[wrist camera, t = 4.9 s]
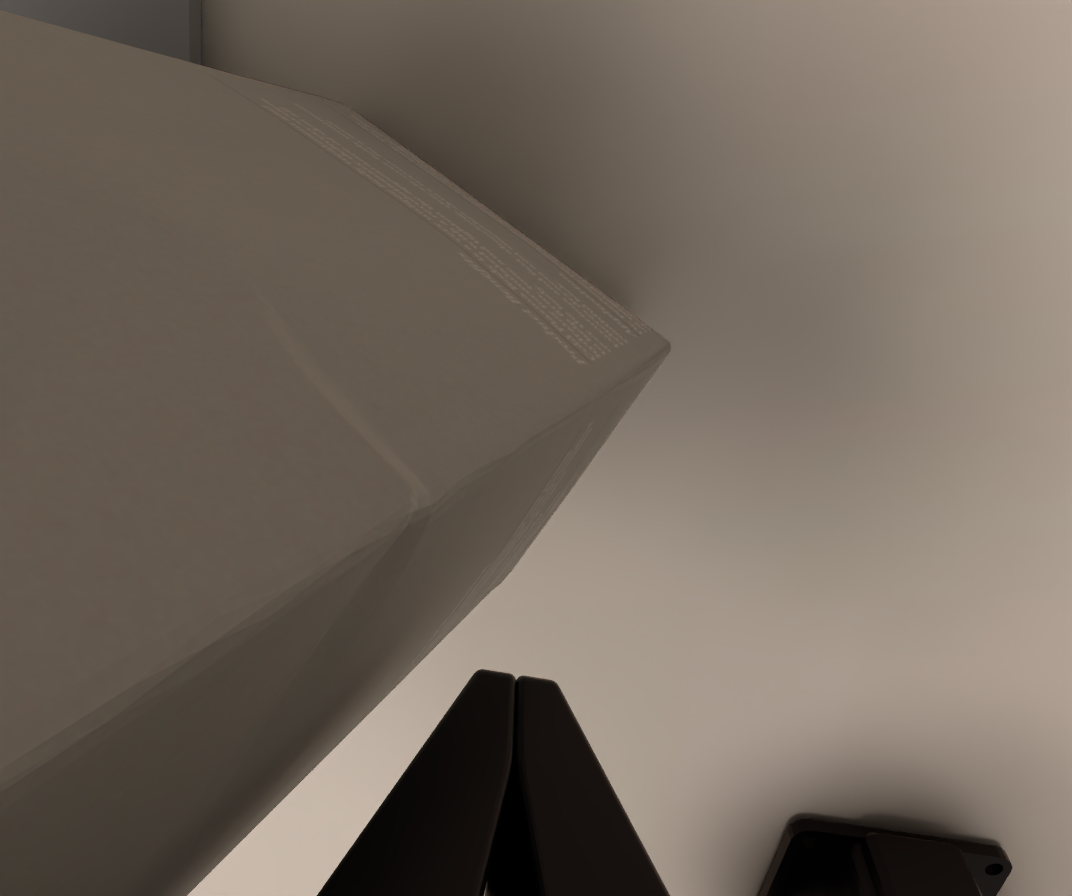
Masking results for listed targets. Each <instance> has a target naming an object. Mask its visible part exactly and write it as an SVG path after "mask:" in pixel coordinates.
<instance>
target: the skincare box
mask: <svg viewBox="0 0 1072 896" xmlns="http://www.w3.org/2000/svg"><path fill="white" fill-rule="evenodd" d="M670 350H671V345H670V343H669V342H668V341H667V340H666V339H664V338H663V337H662V336H661V335H659V334H658V333H657V332H655V331H654V330H653V329H651V328H650V327H649V326H647V325H646V324H645V323H643V322H642V321H641V320H639V319H638V318H637V317H635V316H634V315H633V314H631V313H630V312H628V311H627V310H626V309H624V308H623V307H622V306H620V305H619V304H618V303H616V302H615V301H614V300H612V299H611V298H610V297H608V296H607V295H606V294H604V293H603V292H602V291H600V290H599V289H598V288H596V287H595V286H593V285H592V284H591V283H589V282H588V281H587V280H585V279H584V278H582V277H581V276H580V275H578V274H577V273H576V272H574V271H573V270H572V269H570V268H569V267H567V266H566V265H565V264H563V263H562V262H561V261H559V260H558V259H556V258H555V257H554V256H552V255H551V254H550V253H548V252H547V251H546V250H544V249H543V248H541V247H540V246H539V245H537V244H536V243H535V242H533V241H532V240H530V239H529V238H528V237H526V236H525V235H524V234H522V233H521V232H520V231H518V230H517V229H516V228H514V227H513V226H511V225H510V224H509V223H507V222H506V221H505V220H503V219H502V218H501V217H499V216H498V215H497V214H495V213H494V212H492V211H491V210H490V209H488V208H487V207H486V206H484V205H483V204H482V203H480V202H479V201H477V200H476V199H475V198H473V197H472V196H471V195H469V194H468V193H467V192H465V191H464V190H463V189H461V188H460V187H458V186H457V185H456V184H454V183H453V182H452V181H450V180H449V179H448V178H446V177H445V176H443V175H442V174H441V173H439V172H438V171H437V170H435V169H434V168H433V167H431V166H430V165H428V164H427V163H426V162H424V161H423V160H421V159H420V158H419V157H417V156H416V155H415V154H413V153H412V152H410V151H409V150H408V149H406V148H405V147H404V146H402V145H401V144H399V143H398V142H397V141H395V140H394V139H392V138H391V137H390V136H388V135H387V134H386V133H384V132H383V131H381V130H380V129H379V128H377V127H376V126H374V125H373V124H372V123H370V122H369V121H368V120H366V119H365V118H363V117H362V116H360V115H359V114H358V113H356V112H355V111H353V110H352V109H350V108H349V107H347V106H345V105H344V104H342V103H340V102H336V101H332V100H329V99H325V98H322V97H319V96H315V95H312V94H308V93H304V92H300V91H297V90H292V89H288V88H284V87H280V86H276V85H273V84H269V83H265V82H261V81H257V80H254V79H250V78H246V77H242V76H238V75H234V74H231V73H227V72H224V71H220V70H217V69H213V68H210V67H206V66H202V65H198V64H194V63H191V62H187V61H184V60H181V59H177V58H173V57H169V56H166V55H162V54H158V53H154V52H151V51H147V50H143V49H139V48H135V47H132V46H128V45H125V44H121V43H118V42H114V41H111V40H107V39H104V38H100V37H97V36H93V35H89V34H85V33H82V32H78V31H74V30H71V29H67V28H63V27H60V26H56V25H53V24H49V23H45V22H42V21H38V20H34V19H31V18H27V17H24V16H20V15H16V14H13V13H9V12H5V11H2V10H0V896H187V895H188V894H189V893H190V892H191V891H192V890H193V889H194V888H195V887H196V886H197V885H198V884H199V883H200V882H201V881H202V880H203V879H204V878H205V877H206V876H207V875H208V874H209V873H210V872H211V871H212V870H213V869H214V868H215V867H216V866H217V865H218V864H219V863H220V862H221V861H222V860H223V859H224V858H225V857H226V856H227V855H228V854H229V853H230V852H231V851H232V850H233V849H234V848H235V847H236V846H237V845H238V844H239V843H240V842H241V841H242V840H243V839H244V838H245V837H246V836H247V835H248V834H249V833H250V832H251V831H252V830H253V829H254V828H255V827H256V826H257V825H258V824H259V823H260V822H261V821H262V820H263V819H264V818H265V817H266V816H267V815H268V814H269V813H270V812H271V811H272V810H273V809H274V808H275V807H276V806H277V805H278V804H279V803H280V802H281V801H282V800H283V799H284V798H285V797H286V796H287V795H288V794H289V793H290V792H291V791H292V790H293V789H294V788H295V787H296V786H297V785H298V784H299V783H300V782H301V781H302V780H303V779H304V778H305V777H306V776H307V775H308V774H309V773H310V772H311V771H312V770H313V769H314V768H315V767H316V766H317V765H318V764H319V763H320V762H321V761H322V760H323V759H324V758H325V757H326V756H327V755H328V754H329V753H330V752H331V751H332V750H333V749H334V748H335V747H336V746H337V745H338V744H339V743H340V742H341V741H342V740H343V739H344V738H345V737H346V736H347V735H348V734H349V733H350V732H351V731H352V730H353V729H354V728H355V727H356V726H357V725H358V724H359V723H360V722H361V721H362V720H363V719H364V718H365V717H366V716H367V715H368V714H369V713H370V712H371V711H372V710H373V709H374V708H375V707H376V706H377V705H378V704H379V703H380V702H381V701H382V700H383V699H384V698H385V697H386V696H387V695H388V694H389V693H390V692H391V691H392V690H393V689H394V688H395V687H396V686H397V685H398V684H399V683H400V682H401V681H402V680H403V679H404V678H405V677H406V676H407V675H408V674H409V673H410V672H411V671H412V670H413V669H414V668H415V667H416V666H417V665H418V664H419V663H420V662H421V661H422V660H423V659H424V658H425V657H426V656H427V655H428V654H429V653H430V652H431V651H432V650H433V649H434V648H435V647H436V646H437V645H438V644H439V643H440V642H441V641H442V640H443V639H444V637H445V636H446V635H447V634H448V633H449V632H450V631H451V630H452V629H454V628H455V627H456V626H457V625H458V624H459V623H460V622H461V621H462V620H463V619H464V618H465V617H466V616H467V615H468V614H469V613H470V612H471V611H472V610H473V609H474V608H475V607H476V605H477V604H478V603H479V602H480V601H481V600H482V599H483V598H484V597H486V596H487V595H488V594H489V593H490V592H491V591H492V590H493V589H494V588H495V587H497V586H498V585H499V584H500V583H501V582H502V581H503V580H504V579H505V578H506V576H507V575H508V574H509V573H510V572H511V571H512V569H513V568H514V567H515V565H516V564H517V563H518V561H519V560H520V558H521V557H522V556H523V554H524V553H525V552H526V550H527V549H528V548H529V546H530V545H531V543H532V542H533V541H534V539H535V538H536V537H537V535H538V534H539V533H540V531H541V530H542V528H543V527H544V526H545V524H546V523H547V522H548V520H549V519H550V517H551V516H552V515H553V513H554V512H555V511H556V509H557V508H558V507H559V505H560V504H561V502H562V501H563V500H564V498H565V497H566V496H567V494H568V493H569V492H570V490H571V489H572V487H573V486H574V485H575V483H576V482H577V480H578V479H579V478H580V476H581V475H582V473H583V472H584V470H585V469H586V468H587V466H588V465H589V463H590V462H591V461H592V459H593V458H594V456H595V455H596V453H597V452H598V451H599V449H600V448H601V446H602V445H603V444H604V442H605V441H606V439H607V438H608V436H609V435H610V434H611V432H612V431H613V429H614V428H615V427H616V425H617V424H618V422H619V421H620V419H621V418H622V417H623V415H624V414H625V412H626V411H627V410H628V408H629V407H630V405H631V404H632V403H633V401H634V400H635V398H636V397H637V396H638V394H639V393H640V392H641V390H642V389H643V387H644V386H645V385H646V383H647V382H648V380H649V379H650V378H651V376H652V375H653V374H654V372H655V371H656V370H657V368H658V367H659V366H660V364H661V363H662V361H663V360H664V359H665V357H666V356H667V355H668V353H669V352H670Z"/></svg>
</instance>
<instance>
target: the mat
mask: <svg viewBox="0 0 1072 896" xmlns="http://www.w3.org/2000/svg"><path fill="white" fill-rule="evenodd" d="M0 10H2V11H5V12H9V13H13V14H16V15H20V16H24V17H27V18H31V19H34V20H38V21H42V22H45V23H49V24H53V25H56V26H60V27H63V28H67V29H71V30H74V31H78V32H82V33H85V34H89V35H93V36H97V37H100V38H104V39H107V40H111V41H114V42H118V43H121V44H125V45H128V46H132V47H135V48H139V49H143V50H147V51H151V52H154V53H158V54H162V55H166V56H169V57H173V58H177V59H181V60H184V61H187V62H191V63H194V64H198V65H201V0H0Z"/></svg>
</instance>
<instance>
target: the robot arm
mask: <svg viewBox="0 0 1072 896" xmlns="http://www.w3.org/2000/svg"><path fill="white" fill-rule="evenodd" d="M1011 870H1012V865H1011V862H1010V860H1009V858H1008V856H1007V854H1006V852H1005V851H1004V850H1003V849H1002V848H1001V847H997V846H993V845H986V844H979V843H972V842H965V841H958V840H952V839H945V838H938V837H931V836H924V835H917V834H910V833H903V832H896V831H890V830H883V829H876V828H869V827H862V826H855V825H848V824H841V823H834V822H827V821H821V820H814V819H801V820H797V821H795V822H793V823H792V824H790V826H789V827H788V828H787V831H786V833H785V835H784V838H783V840H782V842H781V845H780V847H779V849H778V852H777V854H776V856H775V859H774V861H773V863H772V865H771V868H770V870H769V872H768V875H767V877H766V879H765V882H764V884H763V886H762V889H761V891H760V893H759V896H996V895H997V893H998V892H999V890H1000V889H1001V887H1002V885H1003V884H1004V882H1005V880H1006V879H1007V877H1008V876H1009V874H1010V872H1011ZM484 892H485V896H670V895H669V893H668V891H667V889H666V887H665V885H664V884H663V882H662V880H661V878H660V876H659V874H658V872H657V870H656V869H655V867H654V865H653V863H652V861H651V859H650V857H649V855H648V853H647V852H646V850H645V848H644V846H643V844H642V842H641V840H640V838H639V836H638V835H637V833H636V831H635V829H634V827H633V825H632V823H631V821H630V820H629V818H628V816H627V814H626V812H625V810H624V808H623V806H622V804H621V803H620V801H619V799H618V797H617V795H616V793H615V791H614V789H613V787H612V786H611V784H610V782H609V780H608V778H607V776H606V774H605V772H604V771H603V769H602V767H601V765H600V763H599V761H598V759H597V757H596V755H595V754H594V752H593V750H592V748H591V746H590V744H589V742H588V740H587V739H586V737H585V735H584V733H583V731H582V729H581V727H580V725H579V723H578V722H577V720H576V718H575V716H574V714H573V712H572V710H571V708H570V706H569V705H568V703H567V701H566V699H565V697H564V695H563V693H562V691H561V690H560V688H559V686H558V684H557V683H556V682H554V681H552V680H548V679H541V678H535V677H529V676H520V677H519V678H518V679H517V680H516V679H515V677H514V676H513V675H512V674H509V673H503V672H497V671H490V670H484V669H481V670H478V671H477V672H476V673H474V675H473V676H472V677H471V679H470V680H469V682H468V683H467V684H466V686H465V687H464V689H463V690H462V691H461V693H460V694H459V696H458V697H457V698H456V700H455V701H454V703H453V704H452V706H451V707H450V708H449V710H448V711H447V713H446V714H445V715H444V717H443V718H442V720H441V721H440V722H439V724H438V725H437V727H436V728H435V730H434V731H433V732H432V734H431V735H430V737H429V738H428V739H427V741H426V742H425V744H424V745H423V747H422V748H421V749H420V751H419V752H418V754H417V755H416V756H415V758H414V759H413V761H412V762H411V763H410V765H409V766H408V768H407V769H406V771H405V772H404V773H403V775H402V776H401V778H400V779H399V780H398V782H397V783H396V785H395V786H394V787H393V789H392V790H391V792H390V793H389V795H388V796H387V797H386V799H385V800H384V802H383V803H382V804H381V806H380V807H379V809H378V810H377V811H376V813H375V814H374V816H373V817H372V819H371V820H370V821H369V823H368V824H367V826H366V827H365V828H364V830H363V831H362V833H361V834H360V835H359V837H358V838H357V840H356V841H355V843H354V844H353V845H352V847H351V848H350V850H349V851H348V852H347V854H346V855H345V857H344V858H343V859H342V861H341V862H340V864H339V865H338V867H337V868H336V869H335V871H334V872H333V874H332V875H331V876H330V878H329V879H328V881H327V882H326V883H325V885H324V886H323V888H322V889H321V891H320V892H319V893H318V895H317V896H484Z"/></svg>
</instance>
